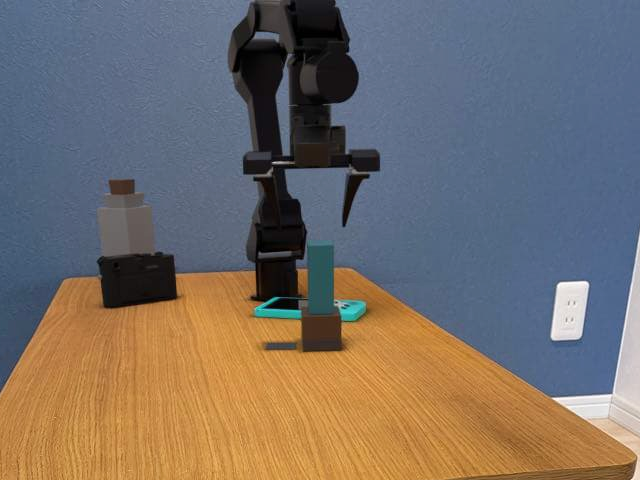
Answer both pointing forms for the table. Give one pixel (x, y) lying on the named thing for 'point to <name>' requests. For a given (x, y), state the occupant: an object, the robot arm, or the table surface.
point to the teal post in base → (320, 300)
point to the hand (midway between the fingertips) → (311, 227)
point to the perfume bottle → (125, 221)
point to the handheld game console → (292, 306)
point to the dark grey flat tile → (281, 345)
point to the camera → (137, 279)
